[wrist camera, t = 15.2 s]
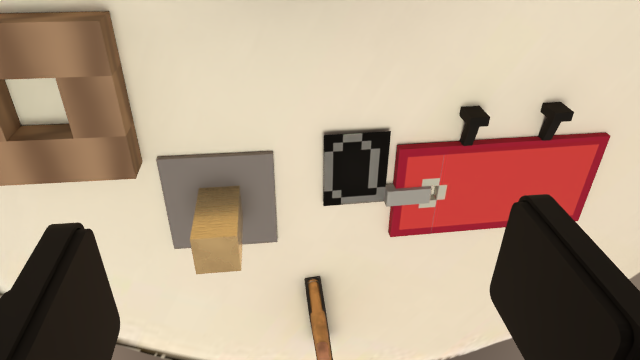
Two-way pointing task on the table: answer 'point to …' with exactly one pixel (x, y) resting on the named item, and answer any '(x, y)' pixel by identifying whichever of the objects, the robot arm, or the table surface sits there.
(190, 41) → the table surface
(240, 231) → the wooden block
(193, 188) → the rubber mat
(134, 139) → the socket block
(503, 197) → the red board with handle
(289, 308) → the table surface
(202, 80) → the table surface
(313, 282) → the ammunition clip
